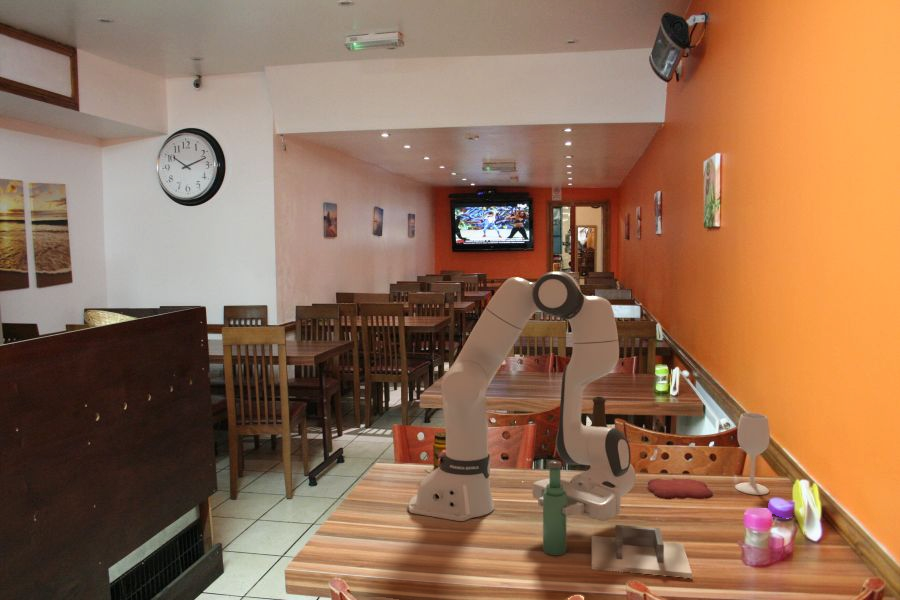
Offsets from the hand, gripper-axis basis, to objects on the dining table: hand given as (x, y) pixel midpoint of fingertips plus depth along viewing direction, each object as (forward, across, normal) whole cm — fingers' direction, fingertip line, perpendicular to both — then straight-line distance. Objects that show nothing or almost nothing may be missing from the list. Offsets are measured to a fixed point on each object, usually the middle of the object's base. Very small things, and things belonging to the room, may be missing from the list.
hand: (552, 507), depth 144 cm
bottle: (-1, 0, +10) cm, 10 cm away
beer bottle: (-49, -20, +11) cm, 54 cm away
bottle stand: (-11, +15, +10) cm, 21 cm away
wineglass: (-71, +16, +10) cm, 73 cm away
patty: (-56, +2, +11) cm, 57 cm away
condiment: (-19, -56, +11) cm, 61 cm away
